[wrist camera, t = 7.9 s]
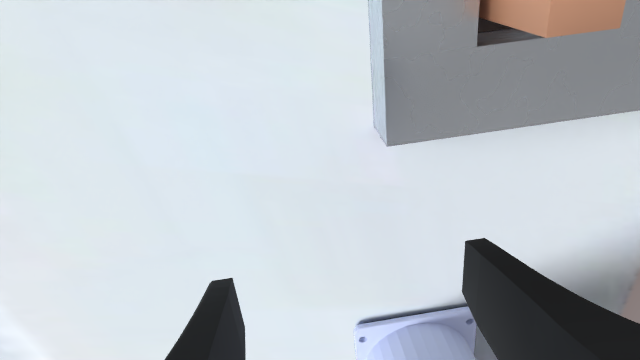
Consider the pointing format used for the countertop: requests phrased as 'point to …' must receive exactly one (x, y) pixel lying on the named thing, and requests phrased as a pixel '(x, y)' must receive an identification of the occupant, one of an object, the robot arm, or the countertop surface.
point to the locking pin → (554, 15)
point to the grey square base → (491, 72)
